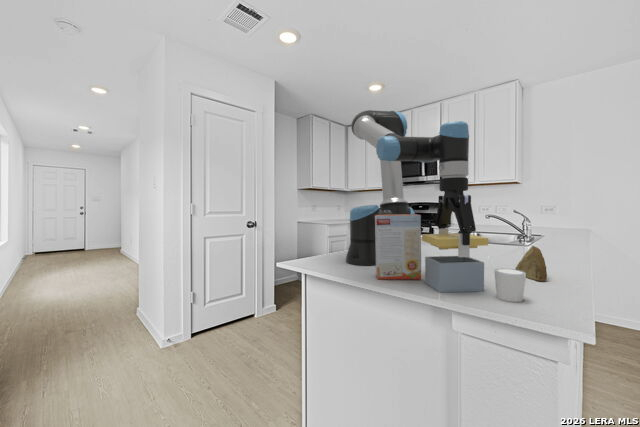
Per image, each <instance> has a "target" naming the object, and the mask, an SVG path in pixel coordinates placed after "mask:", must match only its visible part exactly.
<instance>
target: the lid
mask: <svg viewBox="0 0 640 427" xmlns="http://www.w3.org/2000/svg"><path fill="white" fill-rule="evenodd" d="M458 238H459V233H458V232H457V233H448V234H439V233H424V234H423V233H421V242H424V243H427V244H430V246H432V247H436V248H438V249H439V248H441V249H444V250H453V249H458V243H459V239H458ZM478 246H481V247H482V246H484V247H485V246H487V247H488V246H489V237H485V236H480V235H476V234H472V233H470V249H478Z"/></svg>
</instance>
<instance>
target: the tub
mask: <svg viewBox="0 0 640 427" xmlns="http://www.w3.org/2000/svg"><path fill="white" fill-rule="evenodd" d="M424 258H425V259H424V263H425V264H424V268H425V269H424V270H425V271H424V278H425V279H424V281H425V282H424V283H425V284H427V285H428V286H430V287H431V288H432V289H434V290H436V291H437V292H438V293H455V292H456V293H459V292H484V291H485V285H484V284H485V262H484V261H481V260H478V259H476V258H473V257H458V255H444V256H443V255H438V256H425V257H424Z"/></svg>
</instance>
